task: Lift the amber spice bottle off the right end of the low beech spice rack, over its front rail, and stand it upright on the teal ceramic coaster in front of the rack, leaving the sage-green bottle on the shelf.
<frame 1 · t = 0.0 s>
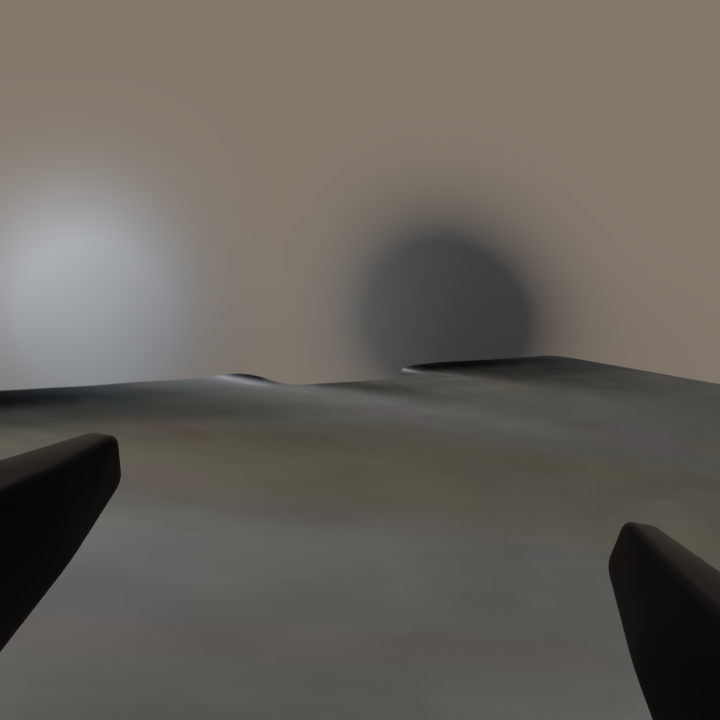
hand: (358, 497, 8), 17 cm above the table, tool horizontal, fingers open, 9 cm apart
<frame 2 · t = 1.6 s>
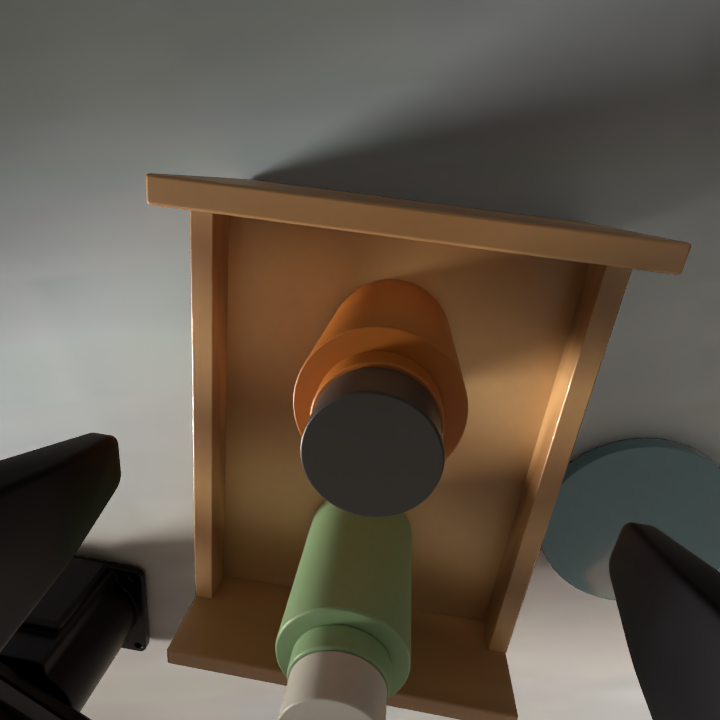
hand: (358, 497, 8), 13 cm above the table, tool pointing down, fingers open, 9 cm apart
spice rack: (380, 405, 22), on the table
amber bottle: (390, 338, 17), point 3 cm above the table, touching spice rack
green bottle: (361, 530, 20), point 3 cm above the table, touching spice rack
coaster: (631, 518, 23), on the table
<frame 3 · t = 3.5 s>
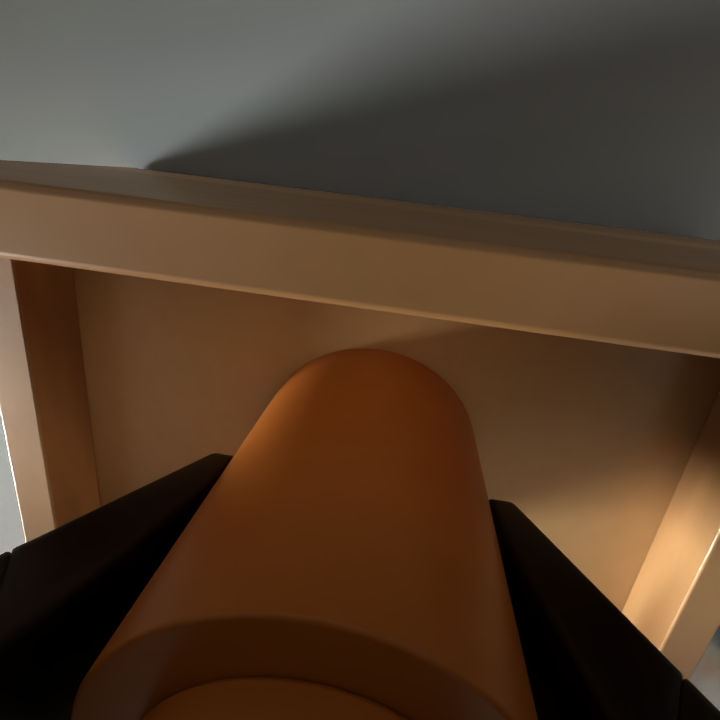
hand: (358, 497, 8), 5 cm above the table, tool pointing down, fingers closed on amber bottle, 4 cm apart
spice rack: (362, 509, 15), on the table
amber bottle: (367, 446, 10), point 4 cm above the table, touching gripper, spice rack
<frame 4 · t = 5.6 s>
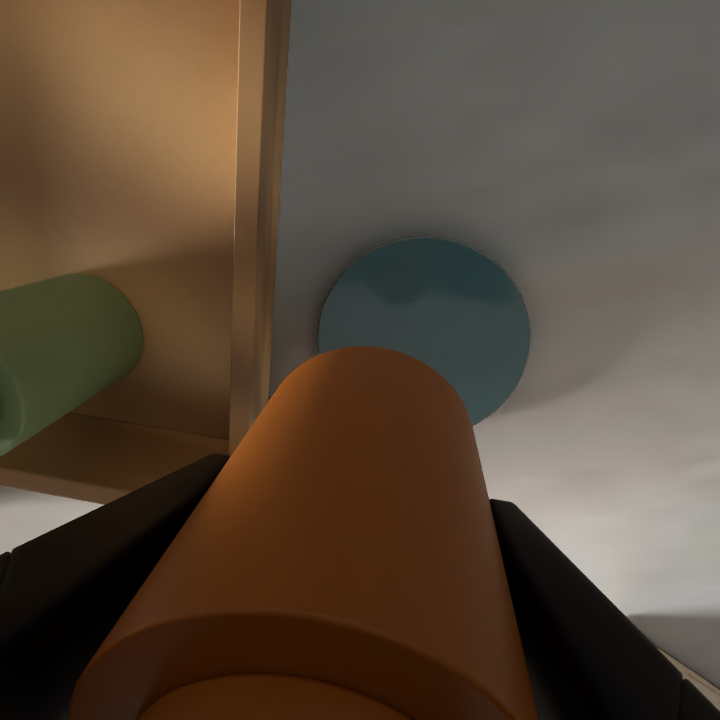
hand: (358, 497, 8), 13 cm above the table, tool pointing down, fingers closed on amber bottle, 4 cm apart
coffeecake box: (660, 707, 27), on the table
spice rack: (134, 205, 20), on the table
amber bottle: (366, 444, 10), point 11 cm above the table, touching gripper
green bottle: (90, 328, 18), point 3 cm above the table, touching spice rack
coaster: (420, 339, 20), on the table
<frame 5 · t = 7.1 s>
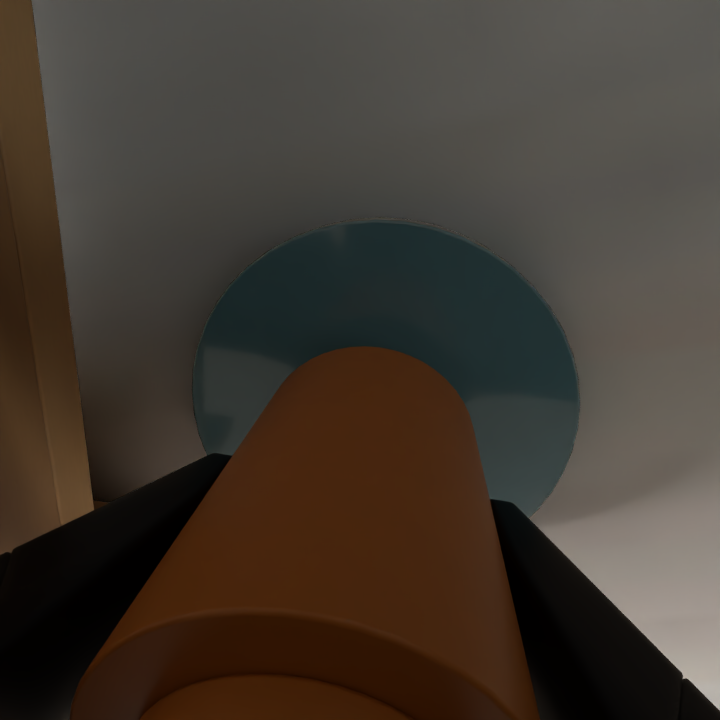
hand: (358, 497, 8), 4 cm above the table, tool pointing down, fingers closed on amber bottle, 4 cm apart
amber bottle: (367, 444, 10), point 2 cm above the table, touching gripper
coaster: (379, 405, 11), on the table
when the fingers open (2 cm above the table, at t = 7.9 s): amber bottle stays where it is, resting on coaster.
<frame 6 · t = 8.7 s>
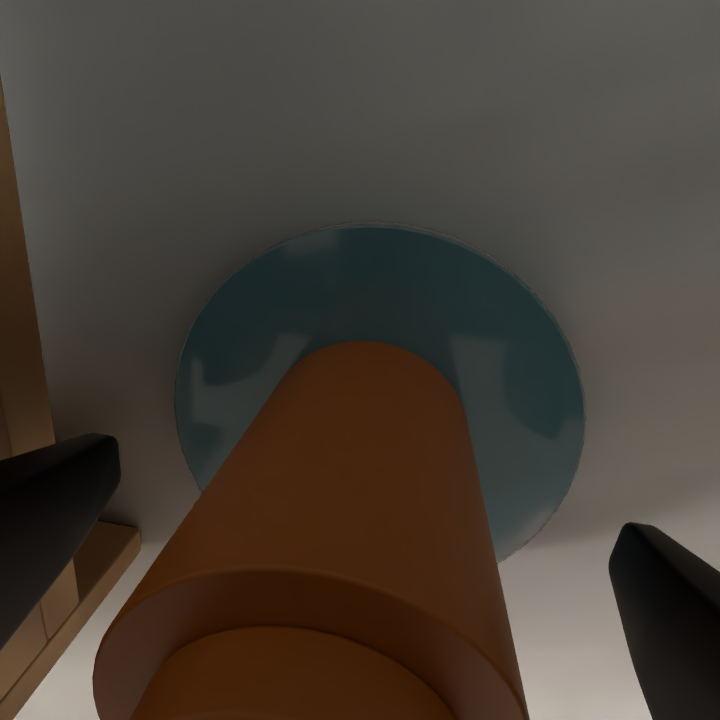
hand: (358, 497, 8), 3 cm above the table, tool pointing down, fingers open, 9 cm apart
amber bottle: (365, 435, 10), point 1 cm above the table, touching coaster
coaster: (372, 419, 11), on the table
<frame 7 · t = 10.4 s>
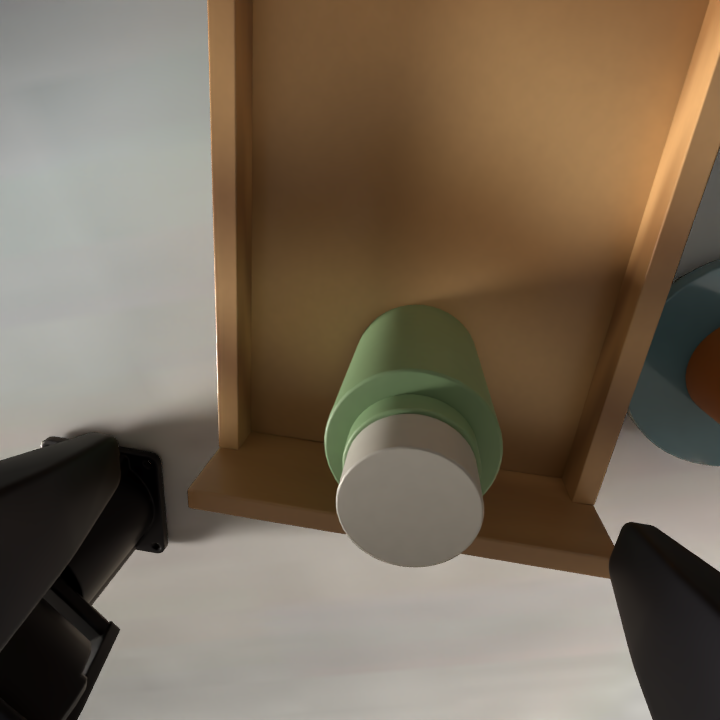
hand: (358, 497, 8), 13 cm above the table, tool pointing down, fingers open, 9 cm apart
spice rack: (432, 226, 18), on the table
green bottle: (415, 362, 17), point 3 cm above the table, touching spice rack
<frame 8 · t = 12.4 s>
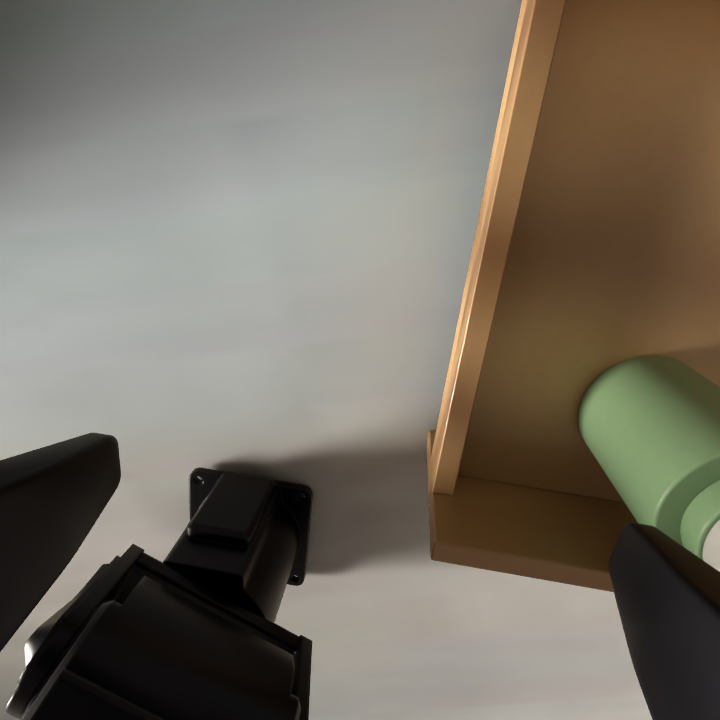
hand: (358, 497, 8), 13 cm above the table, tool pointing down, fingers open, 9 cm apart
spice rack: (638, 272, 18), on the table
green bottle: (640, 411, 17), point 3 cm above the table, touching spice rack
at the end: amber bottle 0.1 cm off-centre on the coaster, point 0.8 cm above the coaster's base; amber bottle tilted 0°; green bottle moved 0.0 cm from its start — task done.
